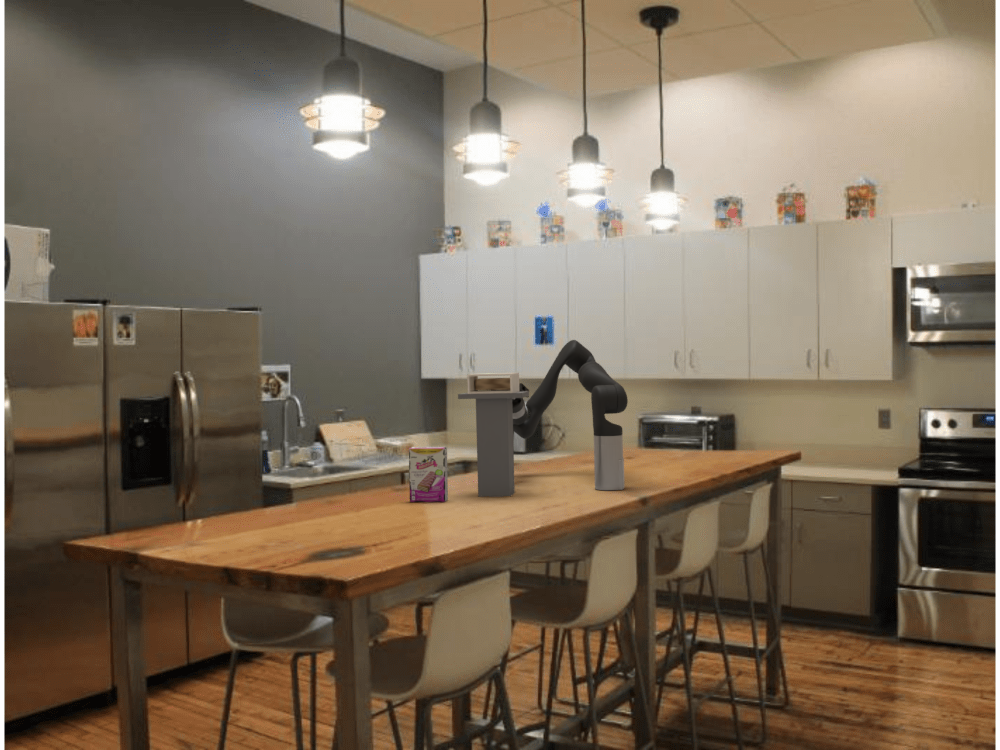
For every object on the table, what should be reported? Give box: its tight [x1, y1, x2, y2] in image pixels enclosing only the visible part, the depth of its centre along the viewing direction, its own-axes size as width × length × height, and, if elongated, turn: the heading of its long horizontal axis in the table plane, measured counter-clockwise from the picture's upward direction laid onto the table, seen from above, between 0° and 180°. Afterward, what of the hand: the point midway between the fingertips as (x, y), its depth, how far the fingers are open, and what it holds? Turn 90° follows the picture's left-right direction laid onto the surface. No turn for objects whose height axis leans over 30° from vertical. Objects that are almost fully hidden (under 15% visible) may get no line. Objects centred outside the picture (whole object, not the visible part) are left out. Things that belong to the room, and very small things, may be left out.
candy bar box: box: [408, 446, 449, 503], centre depth 298 cm, size 11×5×16 cm, turn 84°
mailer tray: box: [475, 377, 510, 391], centre depth 319 cm, size 12×22×3 cm, turn 169°
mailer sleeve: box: [466, 372, 520, 394], centre depth 308 cm, size 14×12×6 cm
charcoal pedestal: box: [457, 390, 530, 498], centre depth 308 cm, size 20×13×32 cm, turn 79°
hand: (504, 380), depth 325 cm, fingers closed on mailer tray, 4 cm apart
